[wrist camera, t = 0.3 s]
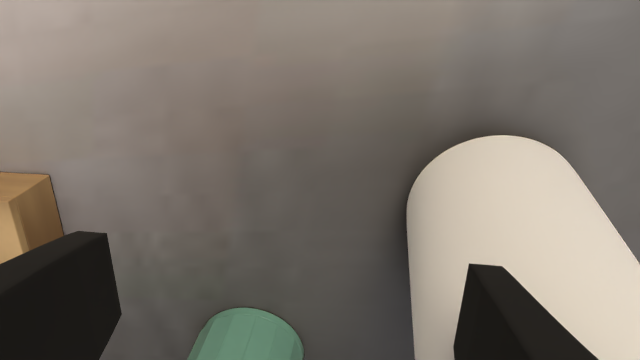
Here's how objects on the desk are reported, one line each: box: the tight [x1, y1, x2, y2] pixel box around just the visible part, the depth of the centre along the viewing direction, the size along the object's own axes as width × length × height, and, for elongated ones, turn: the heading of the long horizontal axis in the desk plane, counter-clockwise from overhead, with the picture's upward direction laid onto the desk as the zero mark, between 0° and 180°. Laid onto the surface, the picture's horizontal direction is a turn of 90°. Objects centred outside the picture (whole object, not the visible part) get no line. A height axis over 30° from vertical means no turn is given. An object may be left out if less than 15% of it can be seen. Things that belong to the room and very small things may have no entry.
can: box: [406, 135, 640, 360], centre depth 14 cm, size 6×6×12 cm
